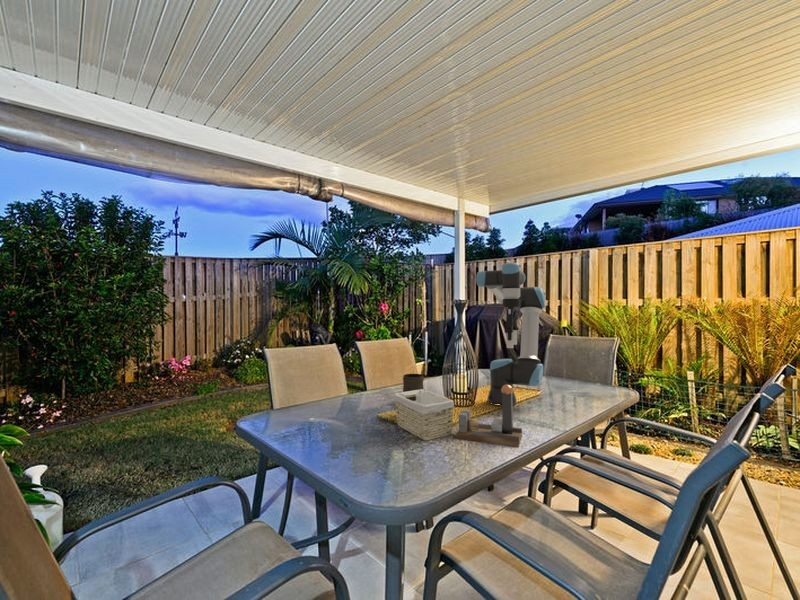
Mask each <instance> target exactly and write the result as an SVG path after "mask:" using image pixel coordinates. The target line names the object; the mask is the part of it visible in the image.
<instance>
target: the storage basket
mask: <svg viewBox="0 0 800 600" xmlns="http://www.w3.org/2000/svg"><path fill="white" fill-rule="evenodd" d="M414 396H416V401H411V400H409V399H407V398H408V397H414ZM393 397H394V398H393V400H394V404H395V414H396V423H397V424H396V425H397V426H399V427H400V428H401V429H403V430H404V431H407V432H409V433H411V434H412V435H413V436H415V437H418V438H419V439H421V440H423V441H430V440H433V439H438V438H442V437H447V436H449V435H452V429H453V427H452V426H453V418H454V417H453V416H454V414H453V412H454V411H453V409H454V407H455V404H454V401H453V400H452V399H450V398H449V397H445V396H443V395H441V394H438V393H435V392H432V391H430V390H425V389H424V388H423V389H420V390H413V391H407V392H403V391H402V392H397V393H394V396H393Z"/></svg>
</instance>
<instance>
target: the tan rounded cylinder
mask: <svg viewBox="0 0 800 600" xmlns="http://www.w3.org/2000/svg"><path fill="white" fill-rule="evenodd" d="M478 423H479V420H478V419H477V418H476V419H475V418H471V419H469V420H468V430H469V431H471V432H472V430H478Z"/></svg>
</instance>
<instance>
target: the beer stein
mask: <svg viewBox="0 0 800 600" xmlns="http://www.w3.org/2000/svg"><path fill="white" fill-rule="evenodd" d="M424 379H425V377H424V375H423V374H421V373H407V374H404V375H403V377H402V380H403V381H402V383H403V385H402V392H407V391H413V390H420V389H423V390H424ZM407 399H409V400H411V401H416V396H414V397H408V398H407Z"/></svg>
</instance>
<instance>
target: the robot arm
mask: <svg viewBox="0 0 800 600" xmlns="http://www.w3.org/2000/svg"><path fill="white" fill-rule="evenodd" d="M475 275H476V277H475V279H476V280H475V282H476V285H477V287H480V288H481V287H482V288H485V287H486V288H487V289H488V290H489V291H490V292H491V293H492V294H493V295H494V296H495V298H496V300H497V302H499V303H500V304H502V307H503V308H507V309H506V320H505V321H506V323H505V330H504V333H505V334H506V348H507V349H514V345H515V346H516V345H518V331H519V327H518V324H517V323H518V321H517V320H518V319H517V314H518V313H517V309H519V311H520V313H521V314H522V315H521V316H522V318H521V336H520V338H521V340H520V355H519V356H518V357H517V358H516V359H517V360H516V362H514V360H513V359H512V358H498V359H494V360H492V361H491V362H490V364H489V365H490V367H489V372H490V373H489V374H490V375H489V376H490V377H489V379H490V389H489V391H488V395H487V398H486V399H487V400H486V401H488V402H489V403H492V404H500V405H502V391H501V389H502V387H503V386H504V385H510V386H511V387H512V388H513V389H514V387H513V385H516V386H527V387H528V386H529V387H538V386H540V385H541V383H542V380H543V376H544V364H543V363H541V359H539V357H538V353H539V351H538V350H539V328H540V327H539V326H540V325H539V324H540V314H542V312H543V309H545V308H546V305H547V303H546V296H545V295H546V294H545V292H544V289H543V288H542V287H540V286H530V287H529V286H528V287H526V286H525V287H524V286H522V285H523V284H524V283H525V281H526V274H525V272H523V270H521V268H520V264H519V263H518V262H509V263H508V262H506V263H503V264H502V266H501V270H483V271H478V272H476V274H475ZM521 286H522V287H521ZM512 401H513V406H517V397H516V394H515V391H514V390H513V393H512ZM488 402H487V403H488ZM489 403H488V404H489ZM492 404H491V405H492Z"/></svg>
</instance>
